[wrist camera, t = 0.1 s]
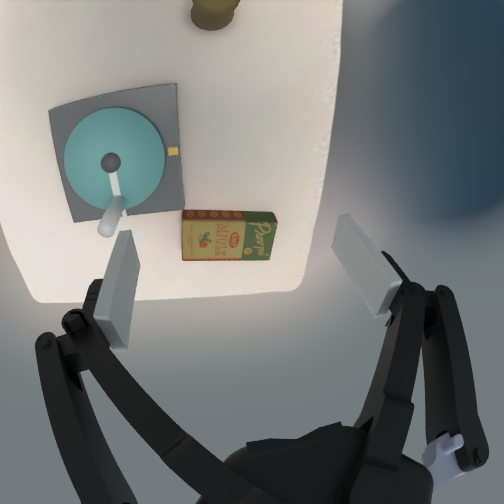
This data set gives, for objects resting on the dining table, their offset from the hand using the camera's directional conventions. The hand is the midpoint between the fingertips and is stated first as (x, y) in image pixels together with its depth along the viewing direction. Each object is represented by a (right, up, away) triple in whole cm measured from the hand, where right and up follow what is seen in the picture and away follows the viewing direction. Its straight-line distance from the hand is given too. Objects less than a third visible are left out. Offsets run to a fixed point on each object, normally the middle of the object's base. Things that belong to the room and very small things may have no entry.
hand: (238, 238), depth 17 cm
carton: (-4, +3, +33) cm, 34 cm away
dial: (-20, +13, +19) cm, 30 cm away
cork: (-5, +32, +10) cm, 34 cm away
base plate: (-20, +14, +20) cm, 32 cm away
